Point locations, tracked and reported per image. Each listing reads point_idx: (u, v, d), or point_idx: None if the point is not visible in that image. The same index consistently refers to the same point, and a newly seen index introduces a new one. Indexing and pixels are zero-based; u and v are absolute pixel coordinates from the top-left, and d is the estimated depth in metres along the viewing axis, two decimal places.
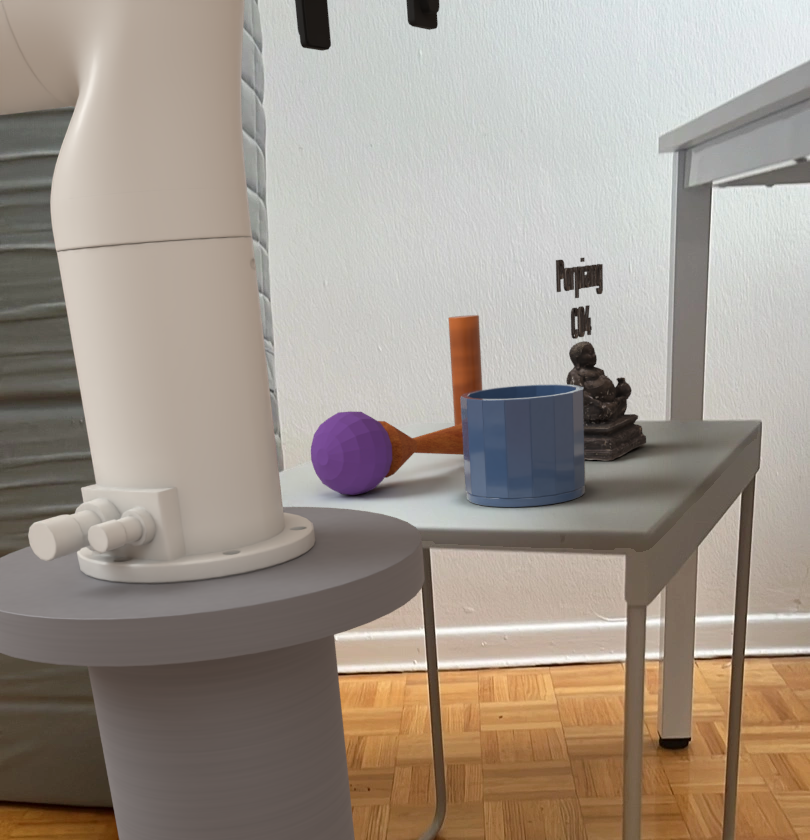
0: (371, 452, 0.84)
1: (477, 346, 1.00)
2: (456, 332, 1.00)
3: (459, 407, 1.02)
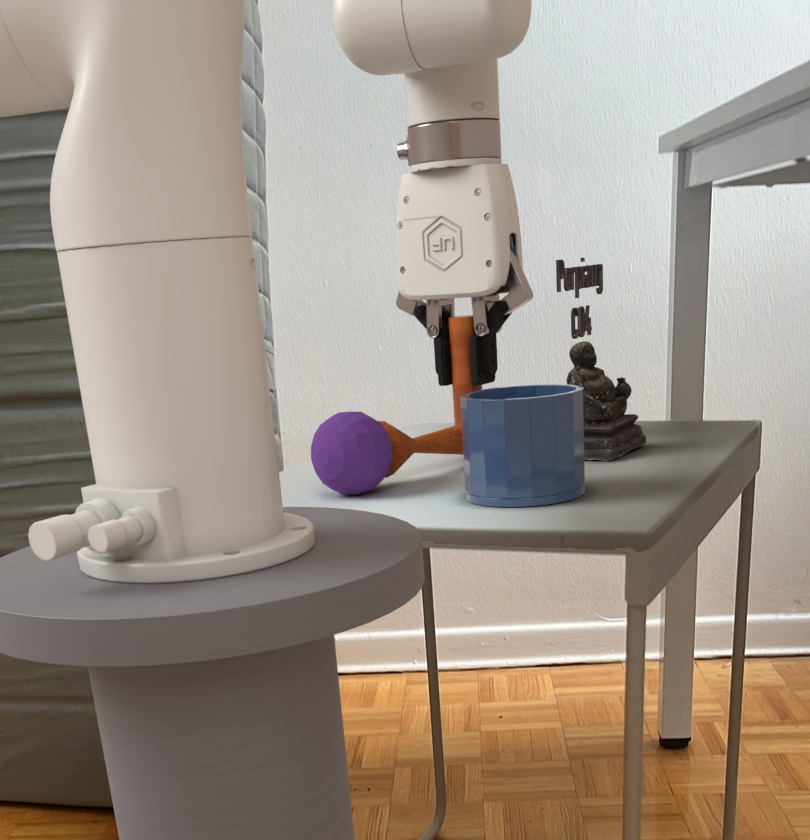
0: (371, 452, 0.84)
1: None
2: (456, 332, 1.00)
3: (459, 407, 1.02)
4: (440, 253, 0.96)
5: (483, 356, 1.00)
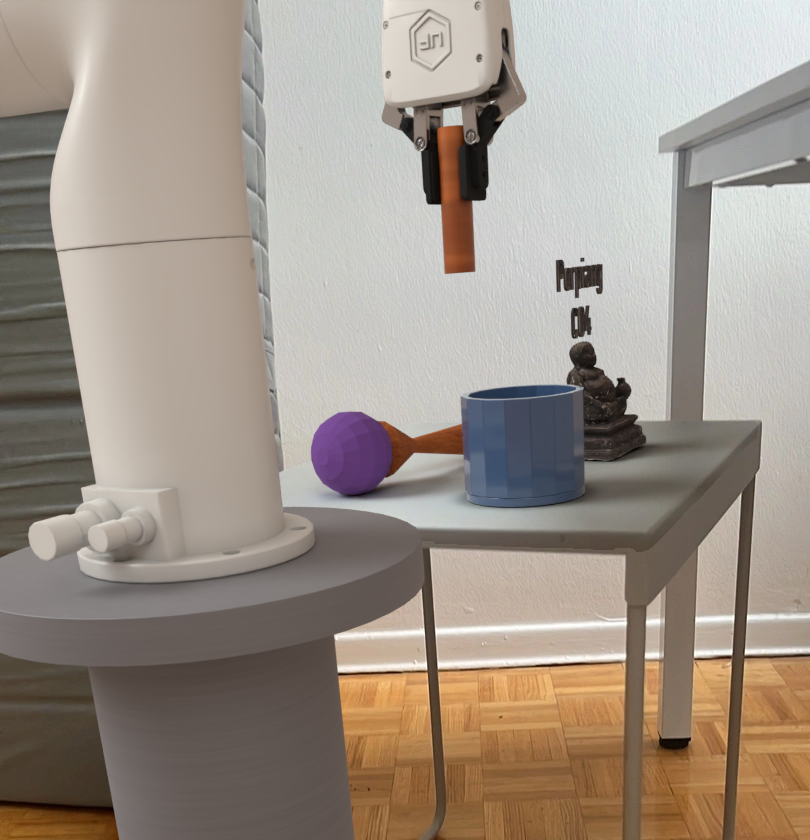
0: (371, 452, 0.84)
1: None
2: (445, 143, 0.94)
3: (448, 227, 0.96)
4: (428, 51, 0.91)
5: (473, 168, 0.94)
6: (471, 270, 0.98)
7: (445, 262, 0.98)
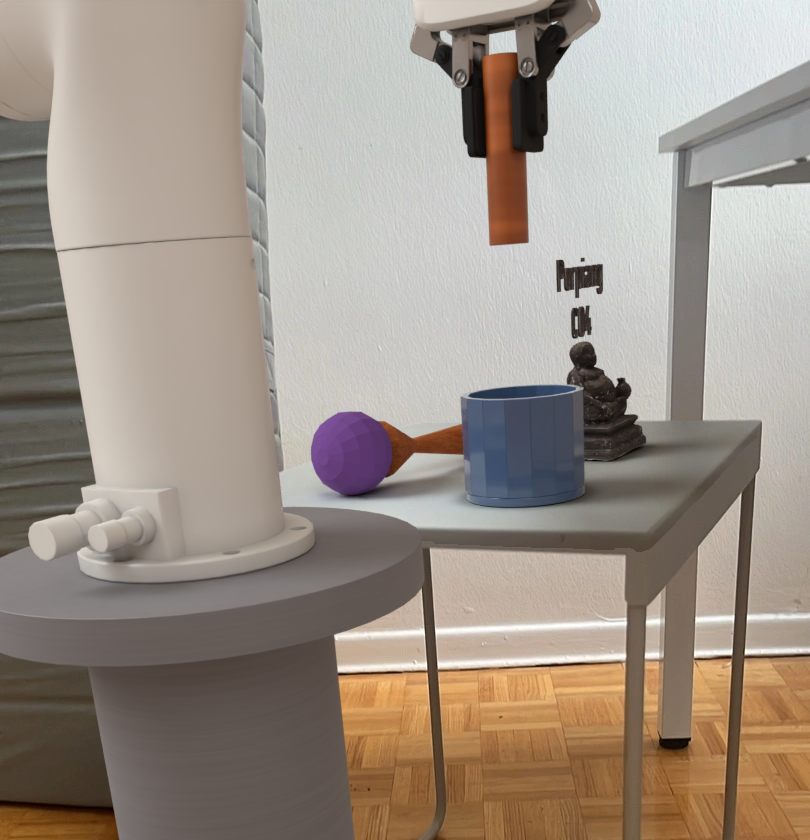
0: (371, 452, 0.84)
1: None
2: (493, 75, 0.73)
3: (496, 185, 0.75)
4: None
5: (529, 109, 0.73)
6: (524, 241, 0.77)
7: (491, 230, 0.77)
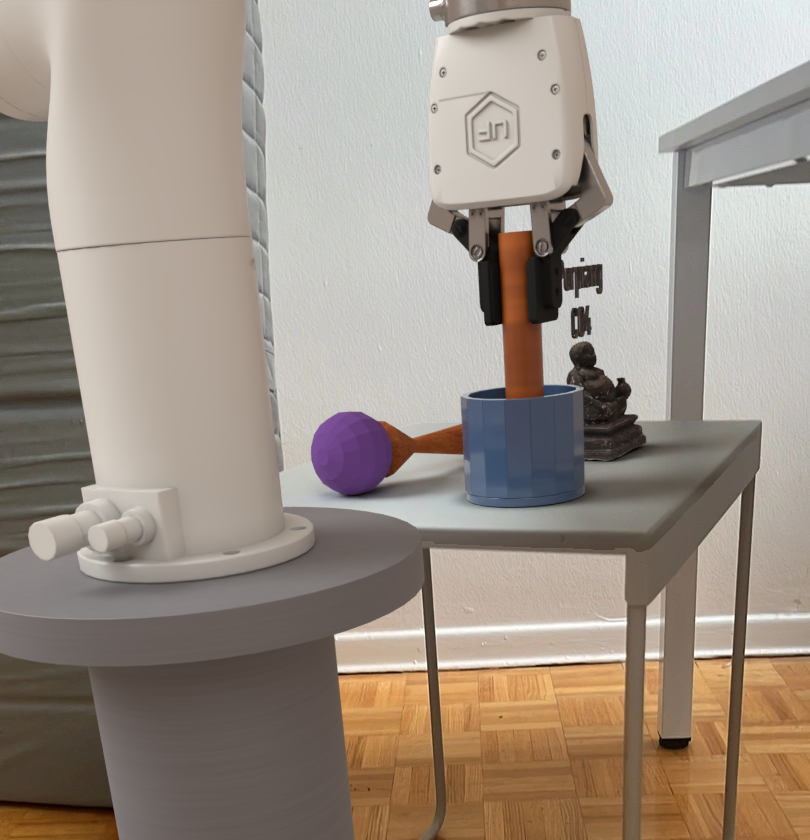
0: (371, 452, 0.84)
1: None
2: (509, 252, 0.75)
3: (512, 353, 0.78)
4: (489, 143, 0.72)
5: (544, 285, 0.75)
6: None
7: (507, 394, 0.79)
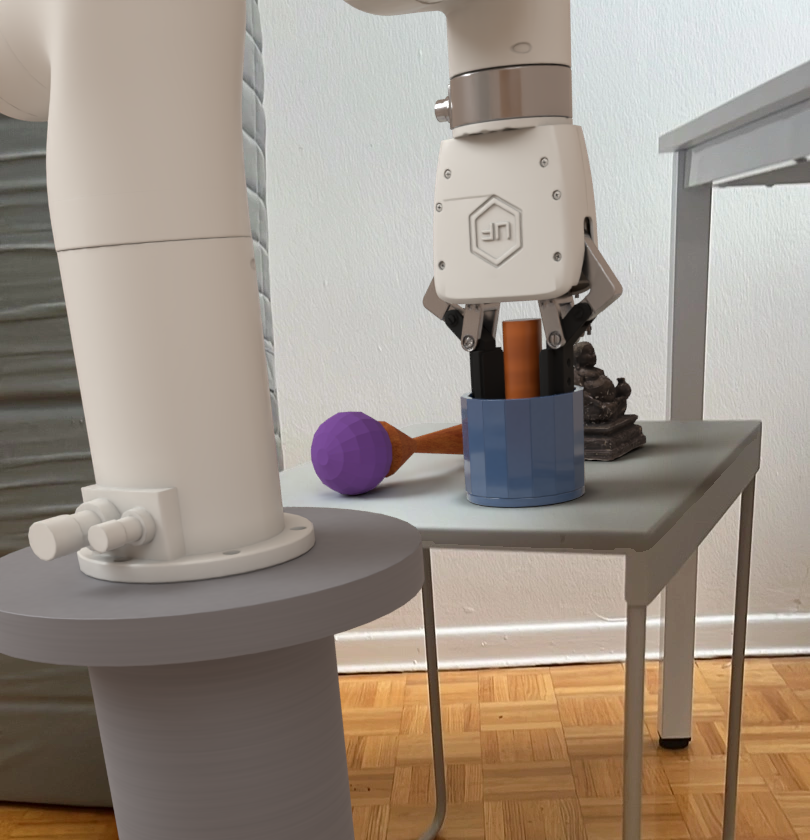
0: (371, 452, 0.84)
1: None
2: (512, 340, 0.77)
3: None
4: (492, 243, 0.74)
5: (556, 375, 0.77)
6: None
7: None
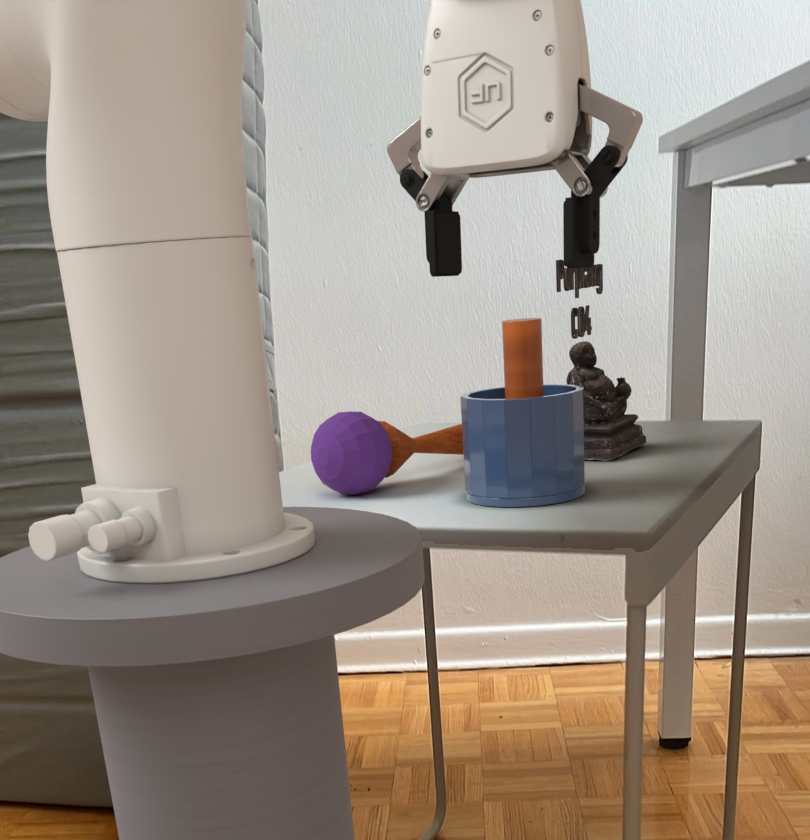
0: (371, 452, 0.84)
1: (539, 358, 0.78)
2: (512, 340, 0.77)
3: None
4: (481, 106, 0.71)
5: (581, 227, 0.72)
6: None
7: None
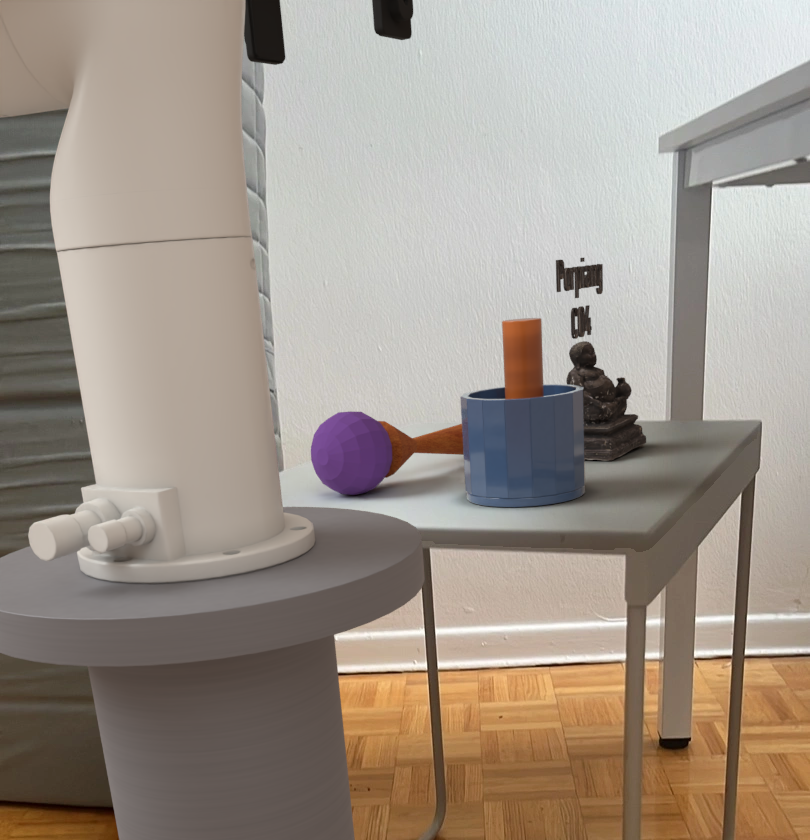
0: (371, 452, 0.84)
1: (539, 358, 0.78)
2: (512, 340, 0.77)
3: None
4: None
5: None
6: None
7: None
